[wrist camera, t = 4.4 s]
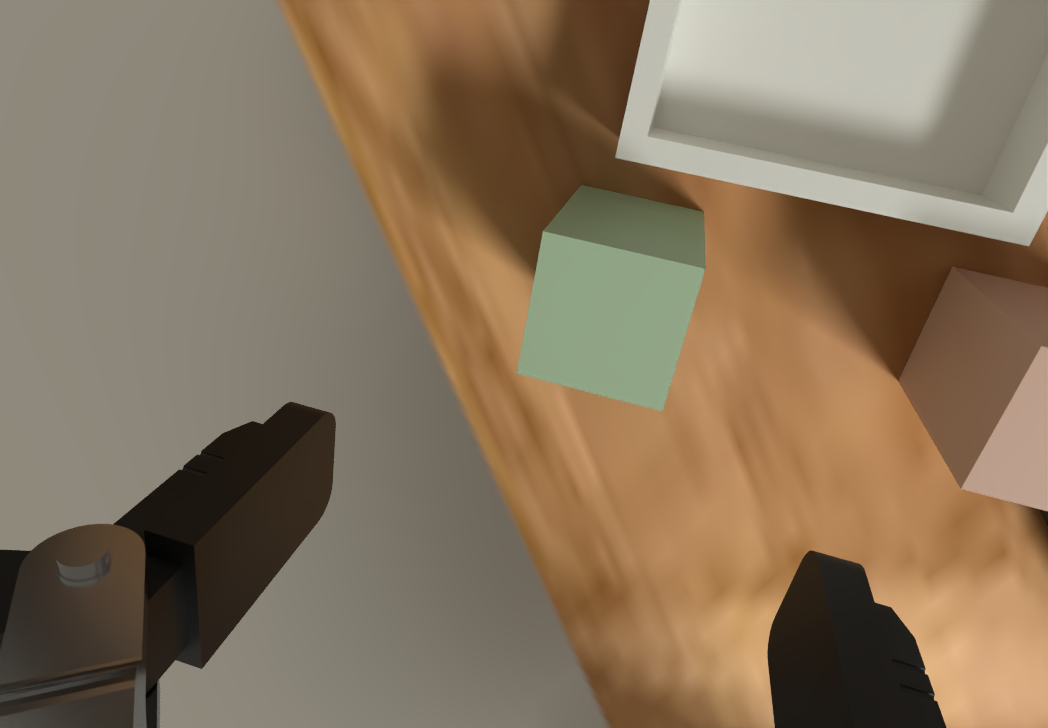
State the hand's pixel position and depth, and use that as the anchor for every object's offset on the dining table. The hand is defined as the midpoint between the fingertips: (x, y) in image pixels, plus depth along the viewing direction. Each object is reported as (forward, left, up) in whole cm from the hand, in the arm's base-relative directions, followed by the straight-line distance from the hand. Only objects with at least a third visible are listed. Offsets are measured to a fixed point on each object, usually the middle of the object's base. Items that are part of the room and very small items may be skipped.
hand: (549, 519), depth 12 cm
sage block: (0, 0, -16) cm, 16 cm away
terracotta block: (0, -13, -16) cm, 21 cm away
